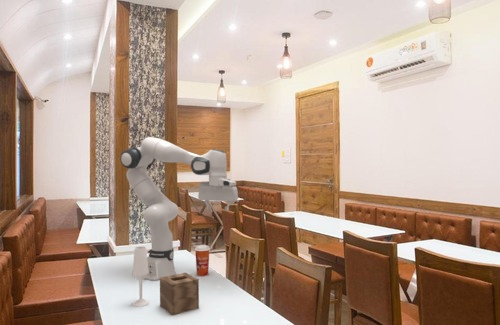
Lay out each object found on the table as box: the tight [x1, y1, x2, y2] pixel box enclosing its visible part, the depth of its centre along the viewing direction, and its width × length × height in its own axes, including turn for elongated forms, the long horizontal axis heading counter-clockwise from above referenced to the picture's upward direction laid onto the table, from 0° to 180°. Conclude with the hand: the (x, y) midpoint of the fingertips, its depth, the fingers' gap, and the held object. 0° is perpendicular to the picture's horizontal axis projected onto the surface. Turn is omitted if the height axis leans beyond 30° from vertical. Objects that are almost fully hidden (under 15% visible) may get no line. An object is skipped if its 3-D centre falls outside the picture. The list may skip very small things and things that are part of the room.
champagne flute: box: [132, 245, 150, 307], centre depth 162 cm, size 7×7×24 cm
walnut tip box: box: [159, 272, 200, 316], centre depth 157 cm, size 12×12×12 cm
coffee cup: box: [194, 244, 211, 277], centre depth 203 cm, size 8×8×15 cm
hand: (217, 209), depth 186 cm, fingers open, 8 cm apart
